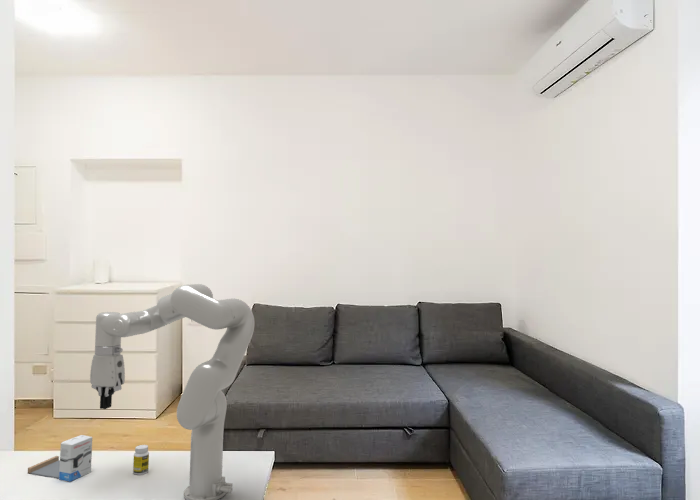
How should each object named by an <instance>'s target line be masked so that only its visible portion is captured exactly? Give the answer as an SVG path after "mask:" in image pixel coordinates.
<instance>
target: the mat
mask: <svg viewBox="0 0 700 500" xmlns="http://www.w3.org/2000/svg"><path fill="white" fill-rule="evenodd" d="M59 472H60V455H55V456H52V457H50V458H48V459H46V460H44V461H43V460H42V461H40V462H39V463H37V464H34V465H31V466H29V467H27V474H28V475H33V476H34V475H35V476H40V477H45V478H46V477H47V478H53V479H58V480H59Z"/></svg>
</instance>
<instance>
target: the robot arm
mask: <svg viewBox="0 0 700 500" xmlns="http://www.w3.org/2000/svg"><path fill="white" fill-rule="evenodd" d="M184 318H187V319H189V320H192V321H193V322H195V323H197V324H200V325H201V326H203V327H205V328H208V329H210V330H223V329H226V330H225V332H224V334H223V335H222V336H221V338H220V340H219V342H218V344H217V347H216V350H215V352H214V353H213V356H212V357H211V358H210V359H209V360H206V361H204V362H201V363H200V364H198V365H197V366H196V367H195V369H193V371H192V372H191V373H190V376H189V377H188V381H187V382H186V385H185V388H184V390H183V392H182V394H181V397H180V398H179V399H180V400H179V402H178V405H177V407H176V419H177V421H178V424H179V425H180V426H181V427H182V428H183V429H185V430H189V431H191V435H190V455H189V457H190V460H189V463H190V464H189V485H188V486H187V487H186V488H184V491H183V497H184V499H185V500H220V499H221V498H223V497H224V496H225V495H226V494H232V492H233V485H234V484H233V483H231V482H227V481H226V476H223V453H224V431H225V430H224V427H225V420H226V415H227V414H226V413H227V409H228V408H227V407H228V403H227V402H228V401H227V398H226V395H225V393H224V392H223V391H222V390H225V389H226V388H228V387H229V386H231V385H232V384H233V383H234V381H235V378H236V376H237V373H238V371H239V369H240V367H241V364H242V361H243V360H244V357H245V354H246V352H247V349H248V347H249V344H250V342H251V341H252V338H253V334H254V331H255V323H256V322H255V317H254V314H253V311H252V309H251V307H250V306H249V305H248V304H247V303H246V302H245V301H244V300H241V299H239V298H238V299H237V298H225V299H215V298H214V294H213V292H212V290H211V289H210V288H209V287H208V286H207V285H205V284H202V283H201V284H200V283H194V284H193V283H192V284H182V285H180V286H178V287H176V288H175V289H174V290H173V291H172V293H169V294H167V295H165V296H162V297H160V298H159V299H158V301H157V303H156V305H154V306H151V307H148V308H147V309H143V310H139V311H133V312H132V311H131V312H125V313H120V312H116V311H105V312H99V313H97V315H96V317H95V340H94V354H93V355H92V359H91V365H90V374H89V377H90V378H89V379H90V381H89V382H90V385H91V389H93V390H96V391H97V394H98V396H99V397H100V400H99V409H100V410H101V409H102V410H107V409H109V408H112V402H113V401H112V400H113V395H114V394H115V393H116V392H118V391H121V390H122V385H124V384H125V383H126V382H125V380H126V376H125V375H126V373H125V362H124V361H125V360H124V356H123V354H121V353H122V352H123V351H124V350H123V348H122V347H121V346H122V338H128V337H133V336H137V335H143V334H147V333H150V332H152V331H154V330H158V329H160V328H162V327H165V326H167V325H170V324H171V323H174V322H177V321H179V320H182V319H184Z"/></svg>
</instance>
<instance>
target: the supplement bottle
mask: <svg viewBox="0 0 700 500" xmlns="http://www.w3.org/2000/svg"><path fill="white" fill-rule="evenodd" d="M134 451H135V452H134V454H133V464H132V465H133V466H132V469H133V470H132V474H134V475H135V476H138V475H139V476H141V475H144V474H147V473H148V472H149V465H150V463H149V462H150V461H149V460H150V452H149V445H148V444H140V445H136V446H135V448H134Z"/></svg>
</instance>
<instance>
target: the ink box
mask: <svg viewBox="0 0 700 500" xmlns="http://www.w3.org/2000/svg"><path fill="white" fill-rule="evenodd" d="M59 450H60V453H59V460H60V472H59V479H58V480H59V481H65V482H69V483H71V482H73V481H75V480H77V479H79V478H81V477H83V476H86V475H88V474H89V473H91V472H92V459H93V458H92V457H93V455H92V454H93V436H89V435H84V434H80V435H77V436H75V437H71V438H69V439H67V440H64V441H62V442H61V443H60V449H59Z"/></svg>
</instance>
